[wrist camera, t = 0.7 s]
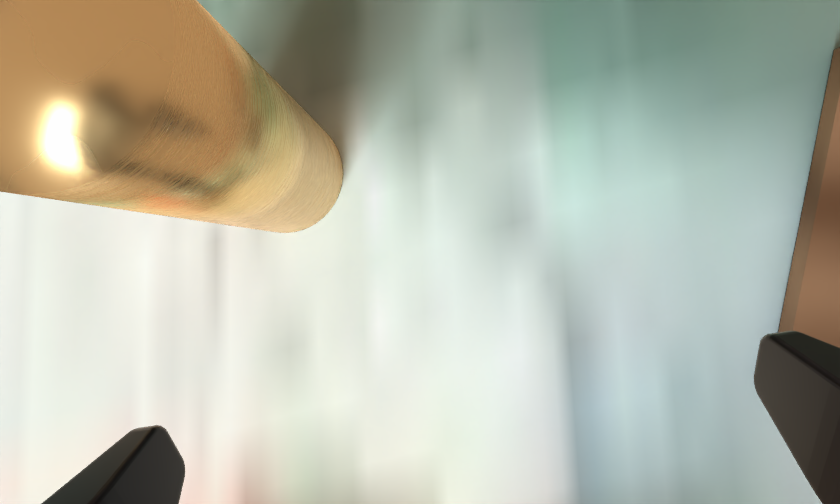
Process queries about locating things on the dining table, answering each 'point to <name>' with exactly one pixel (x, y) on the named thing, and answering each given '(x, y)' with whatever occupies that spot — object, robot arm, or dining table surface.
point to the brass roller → (155, 117)
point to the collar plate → (819, 232)
